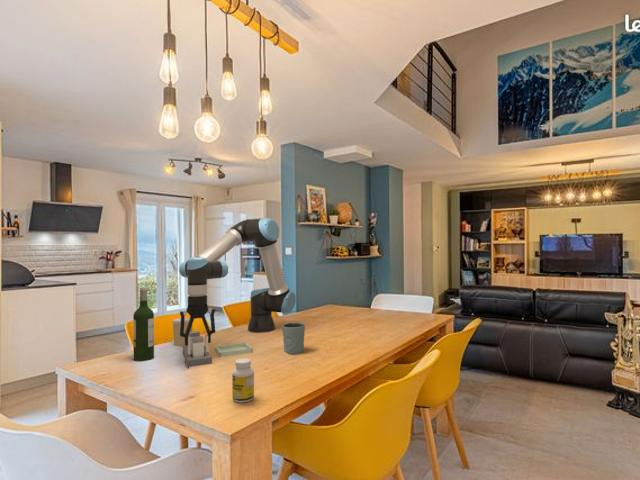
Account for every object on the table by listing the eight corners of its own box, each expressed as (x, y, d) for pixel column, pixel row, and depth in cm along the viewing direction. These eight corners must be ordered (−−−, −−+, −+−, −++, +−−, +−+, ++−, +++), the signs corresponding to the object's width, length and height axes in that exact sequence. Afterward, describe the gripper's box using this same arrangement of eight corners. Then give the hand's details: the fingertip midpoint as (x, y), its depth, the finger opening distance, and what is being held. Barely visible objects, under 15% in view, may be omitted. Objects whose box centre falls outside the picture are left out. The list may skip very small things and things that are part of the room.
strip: (203, 350, 169) (203, 342, 169) (211, 365, 147) (211, 355, 147) (182, 353, 165) (182, 344, 165) (187, 368, 143) (187, 359, 144)
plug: (202, 360, 153) (202, 336, 154) (204, 363, 150) (203, 338, 150) (192, 362, 152) (192, 337, 152) (193, 364, 148) (193, 339, 148)
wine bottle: (135, 357, 160) (134, 287, 161) (155, 355, 163) (154, 286, 164) (131, 362, 153) (131, 289, 154) (152, 360, 155) (152, 288, 156)
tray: (246, 347, 173) (246, 342, 173) (252, 353, 162) (252, 348, 162) (215, 351, 167) (215, 346, 167) (219, 358, 156) (219, 352, 156)
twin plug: (198, 353, 164) (198, 330, 165) (200, 355, 161) (199, 332, 161) (189, 354, 163) (189, 331, 163) (190, 357, 159) (190, 333, 159)
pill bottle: (229, 397, 114) (229, 359, 115) (249, 393, 118) (249, 356, 118) (236, 405, 109) (236, 365, 109) (257, 400, 112) (257, 361, 113)
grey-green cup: (302, 348, 170) (301, 321, 171) (308, 353, 161) (307, 325, 161) (280, 350, 167) (279, 323, 167) (285, 356, 158) (285, 327, 158)
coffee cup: (196, 341, 186) (196, 317, 186) (187, 346, 176) (187, 321, 176) (178, 341, 186) (178, 317, 187) (168, 346, 177) (168, 321, 177)
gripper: (219, 292, 159) (220, 347, 158) (171, 295, 151) (172, 353, 150) (223, 294, 152) (223, 351, 152) (172, 297, 144) (173, 357, 143)
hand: (197, 352), depth 151 cm, fingers open, 6 cm apart
